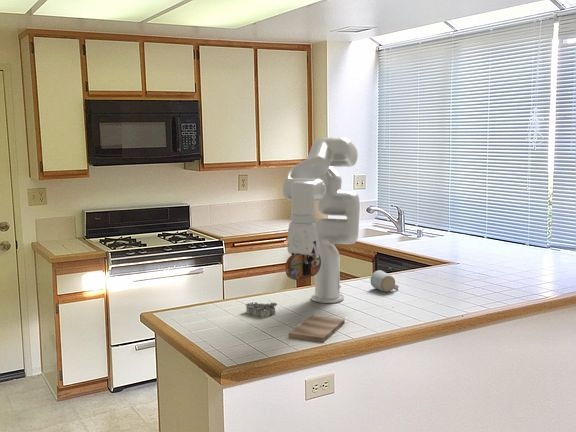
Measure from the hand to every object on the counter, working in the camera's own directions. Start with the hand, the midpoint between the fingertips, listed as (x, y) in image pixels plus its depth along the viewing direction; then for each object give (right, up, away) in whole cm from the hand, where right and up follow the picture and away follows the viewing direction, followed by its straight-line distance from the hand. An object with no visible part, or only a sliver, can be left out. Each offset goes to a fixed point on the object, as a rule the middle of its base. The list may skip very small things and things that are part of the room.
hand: (303, 273), depth 209 cm
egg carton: (-15, -17, +21) cm, 31 cm away
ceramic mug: (+35, -11, +50) cm, 62 cm away
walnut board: (+5, -19, +1) cm, 20 cm away
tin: (0, -1, 0) cm, 2 cm away
